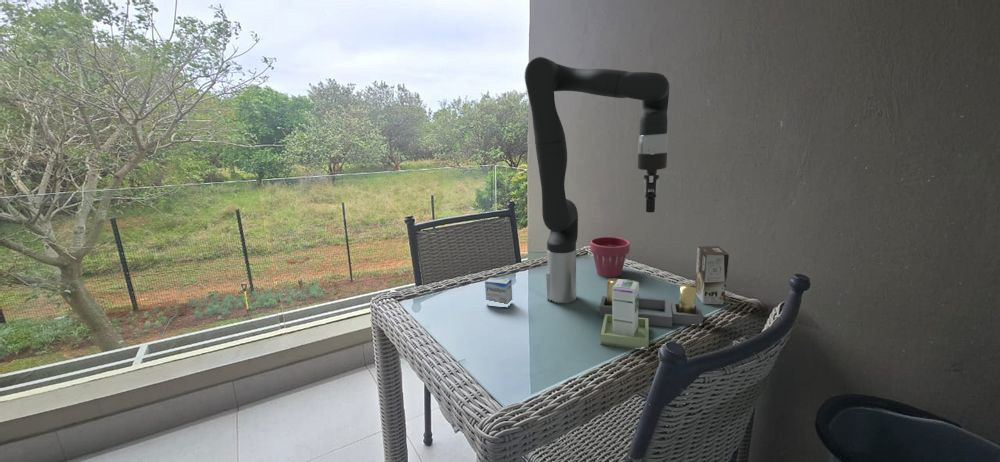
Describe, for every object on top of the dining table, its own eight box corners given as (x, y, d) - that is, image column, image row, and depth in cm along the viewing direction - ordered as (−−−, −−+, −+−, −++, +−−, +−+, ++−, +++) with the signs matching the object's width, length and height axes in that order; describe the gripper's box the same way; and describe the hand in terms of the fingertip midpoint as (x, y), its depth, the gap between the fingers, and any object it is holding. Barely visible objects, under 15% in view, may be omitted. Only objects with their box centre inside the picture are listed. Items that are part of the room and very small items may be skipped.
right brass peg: (678, 321, 108) (680, 288, 106) (677, 314, 112) (679, 283, 109) (694, 322, 107) (696, 289, 104) (692, 316, 111) (695, 284, 108)
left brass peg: (606, 313, 115) (606, 282, 113) (607, 307, 119) (607, 277, 116) (620, 315, 114) (620, 284, 111) (620, 309, 118) (621, 278, 115)
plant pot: (635, 271, 147) (636, 239, 143) (618, 283, 137) (618, 249, 134) (601, 264, 156) (601, 234, 153) (583, 274, 147) (583, 243, 143)
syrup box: (634, 341, 98) (636, 289, 95) (611, 336, 101) (612, 285, 98) (638, 330, 103) (640, 280, 99) (616, 326, 106) (617, 277, 102)
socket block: (598, 318, 112) (598, 309, 112) (603, 301, 123) (603, 293, 122) (703, 330, 103) (704, 320, 102) (697, 310, 113) (698, 301, 113)
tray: (600, 344, 99) (600, 334, 98) (604, 323, 110) (605, 313, 109) (648, 350, 95) (648, 340, 94) (648, 328, 106) (648, 318, 105)
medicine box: (486, 306, 125) (484, 281, 123) (491, 300, 129) (489, 276, 127) (508, 308, 122) (506, 283, 120) (513, 303, 126) (511, 278, 124)
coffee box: (725, 304, 116) (730, 254, 112) (702, 304, 117) (706, 254, 113) (715, 292, 125) (719, 245, 121) (693, 292, 126) (697, 245, 122)
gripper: (639, 150, 112) (637, 204, 117) (636, 153, 100) (635, 214, 104) (666, 149, 110) (664, 204, 114) (667, 152, 97) (665, 214, 101)
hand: (650, 208), depth 109 cm, fingers open, 8 cm apart
